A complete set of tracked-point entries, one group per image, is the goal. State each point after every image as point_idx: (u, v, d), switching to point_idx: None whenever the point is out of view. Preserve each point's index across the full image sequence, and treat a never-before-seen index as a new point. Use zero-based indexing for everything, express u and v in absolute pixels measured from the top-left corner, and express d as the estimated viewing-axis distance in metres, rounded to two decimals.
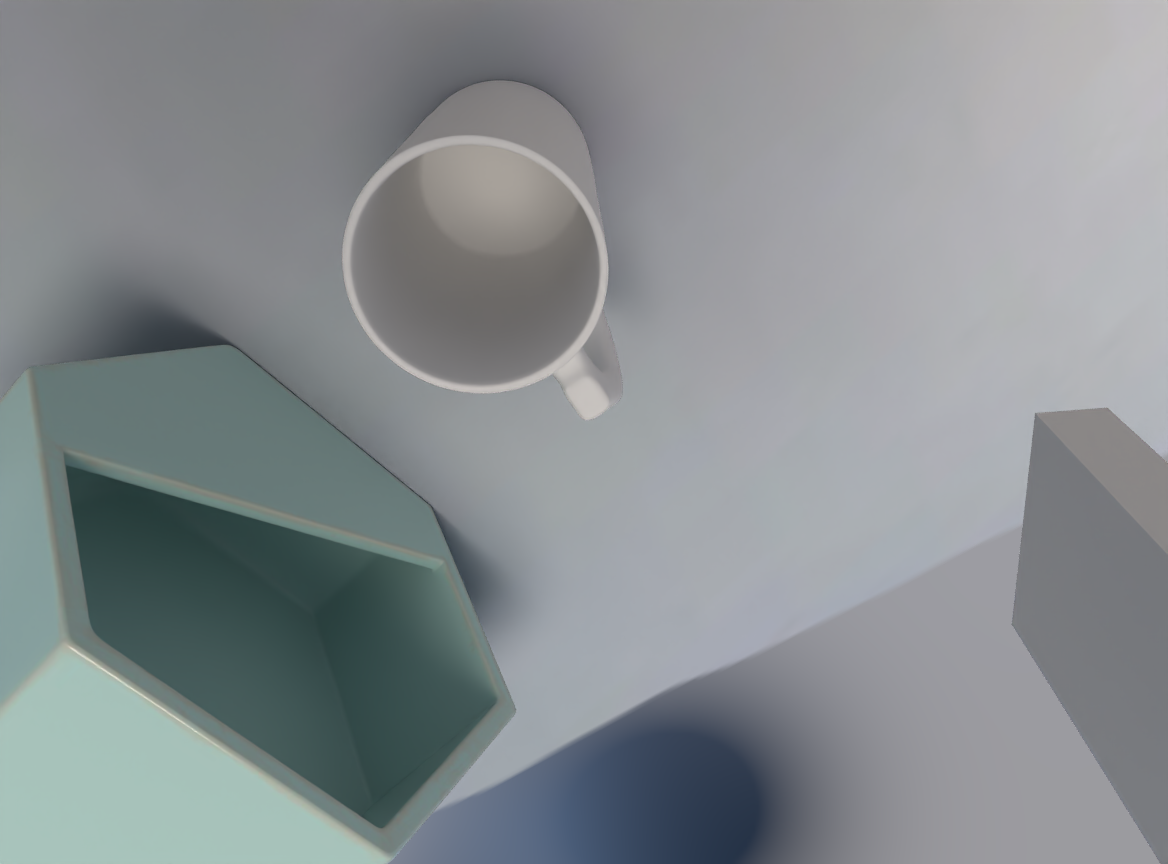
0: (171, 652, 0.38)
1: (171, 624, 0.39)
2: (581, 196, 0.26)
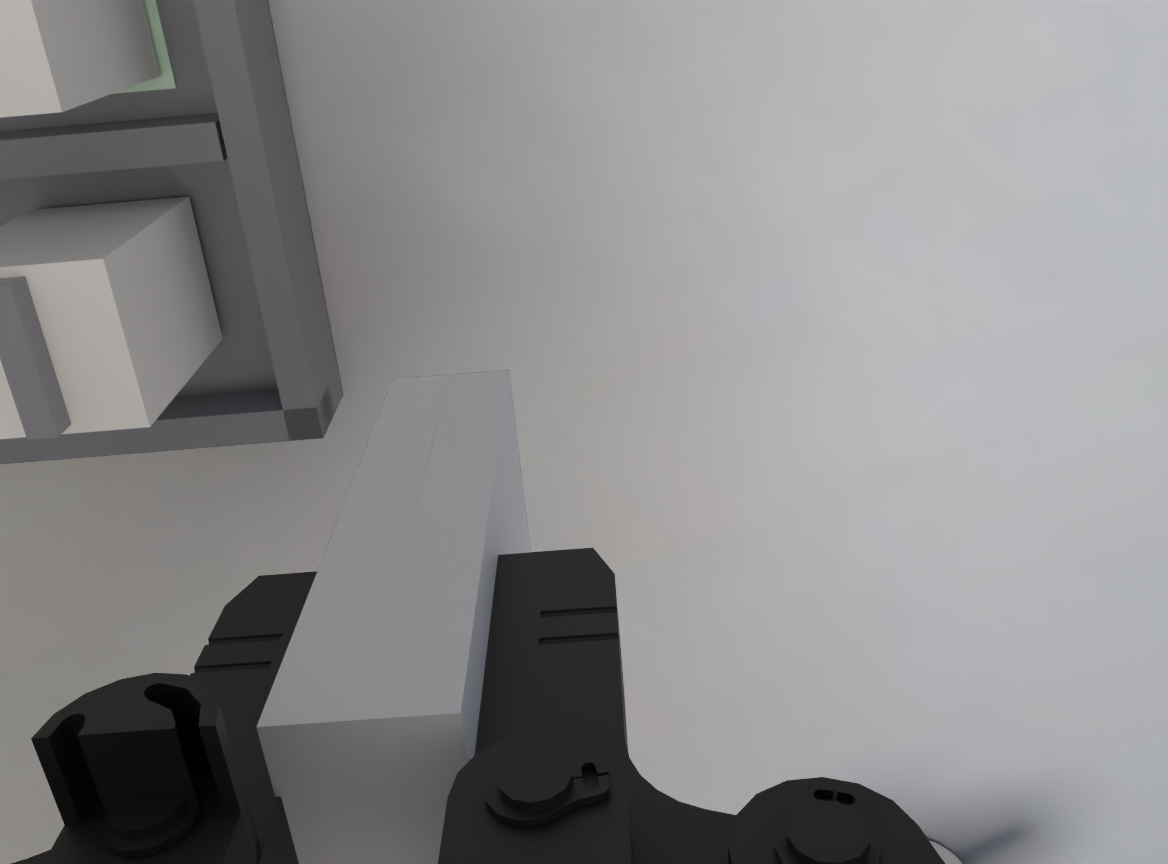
0: None
1: None
2: None
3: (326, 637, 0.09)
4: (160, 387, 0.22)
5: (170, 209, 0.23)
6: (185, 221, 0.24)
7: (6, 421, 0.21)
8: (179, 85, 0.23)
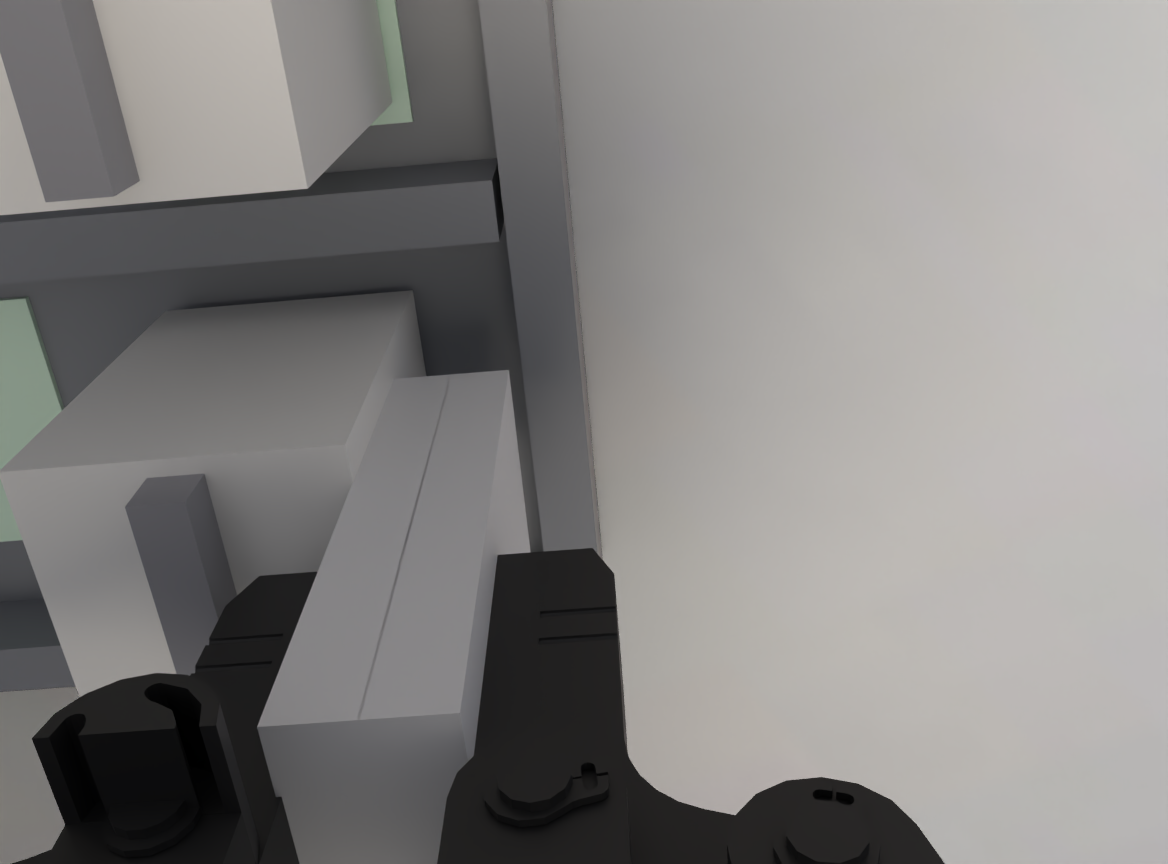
0: None
1: None
2: None
3: (326, 637, 0.09)
4: None
5: (398, 318, 0.14)
6: (411, 331, 0.15)
7: None
8: (417, 116, 0.15)
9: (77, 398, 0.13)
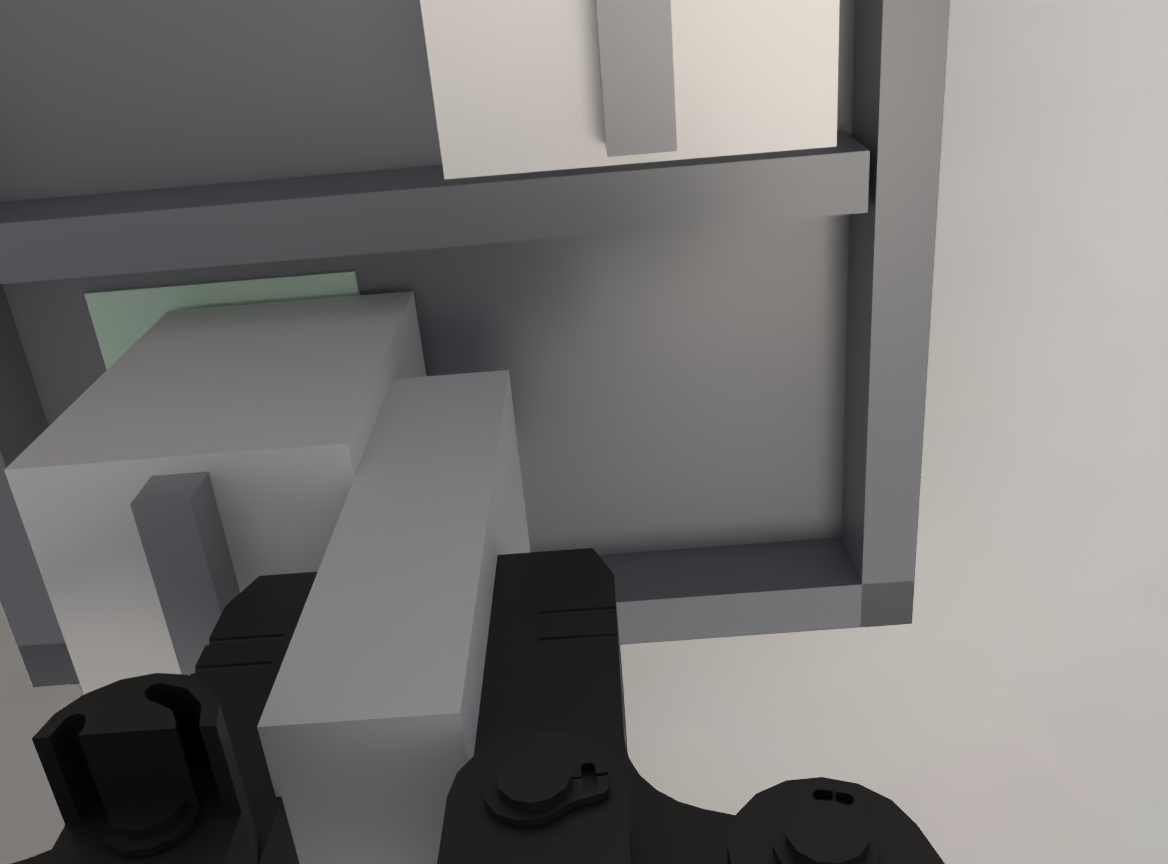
0: None
1: None
2: None
3: (326, 637, 0.09)
4: None
5: (400, 318, 0.14)
6: (412, 332, 0.15)
7: None
8: None
9: (81, 397, 0.13)
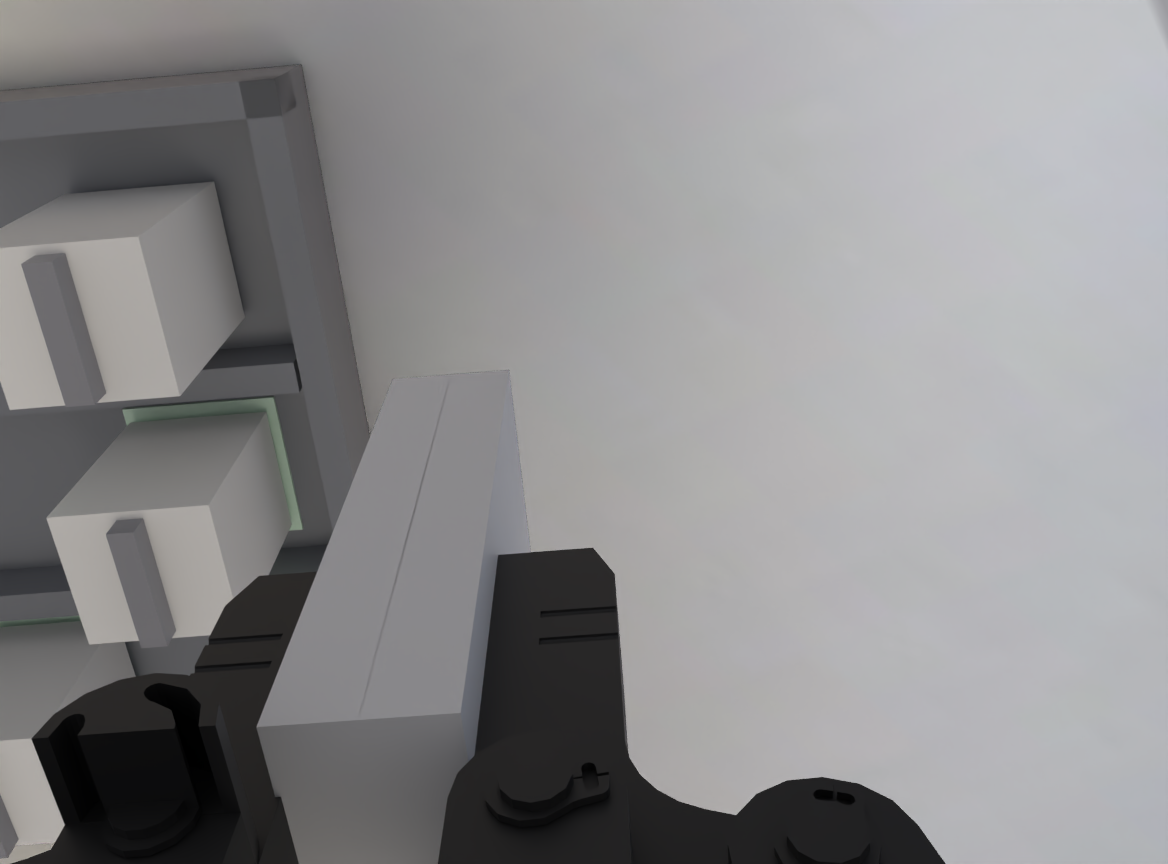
0: None
1: None
2: None
3: (325, 637, 0.09)
4: None
5: None
6: None
7: None
8: (305, 525, 0.30)
9: None
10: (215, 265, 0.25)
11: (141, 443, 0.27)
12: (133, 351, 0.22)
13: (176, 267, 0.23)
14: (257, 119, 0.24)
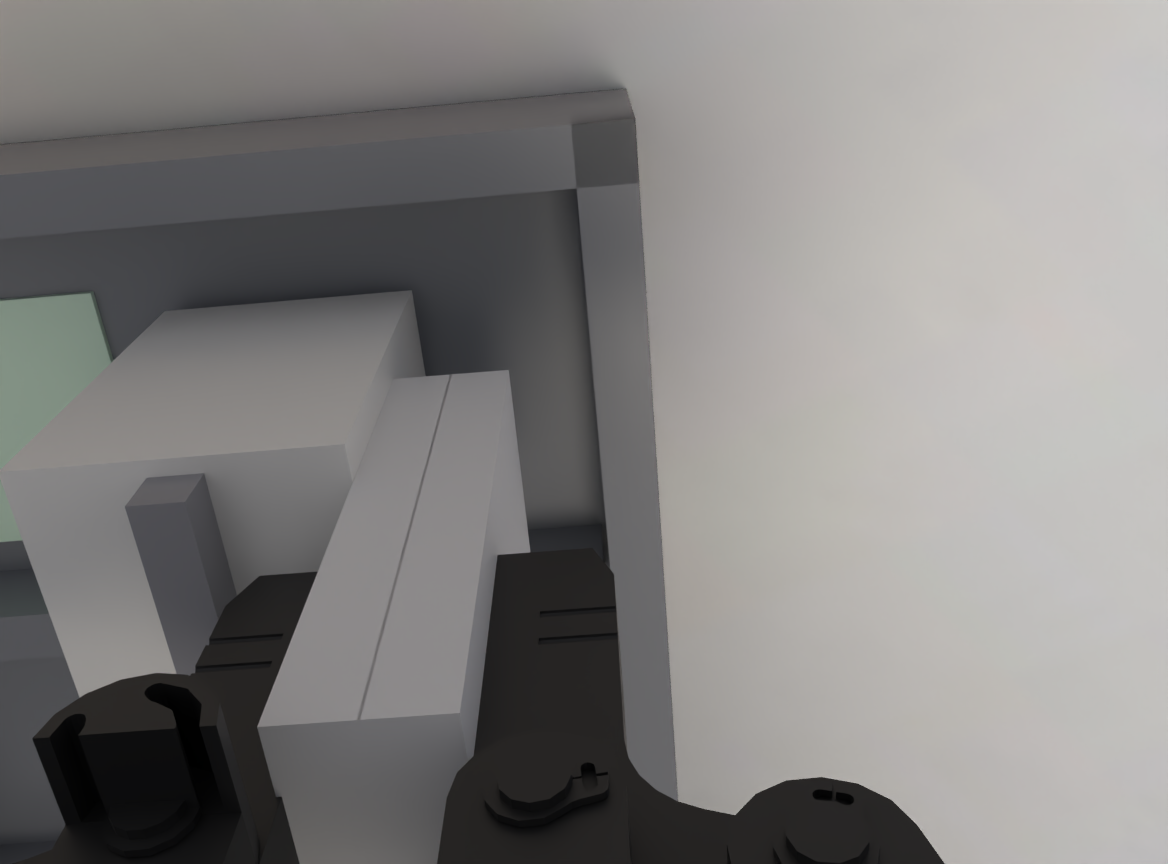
0: None
1: None
2: None
3: (326, 637, 0.09)
4: None
5: None
6: None
7: None
8: None
9: None
10: None
11: None
12: None
13: None
14: (595, 189, 0.14)
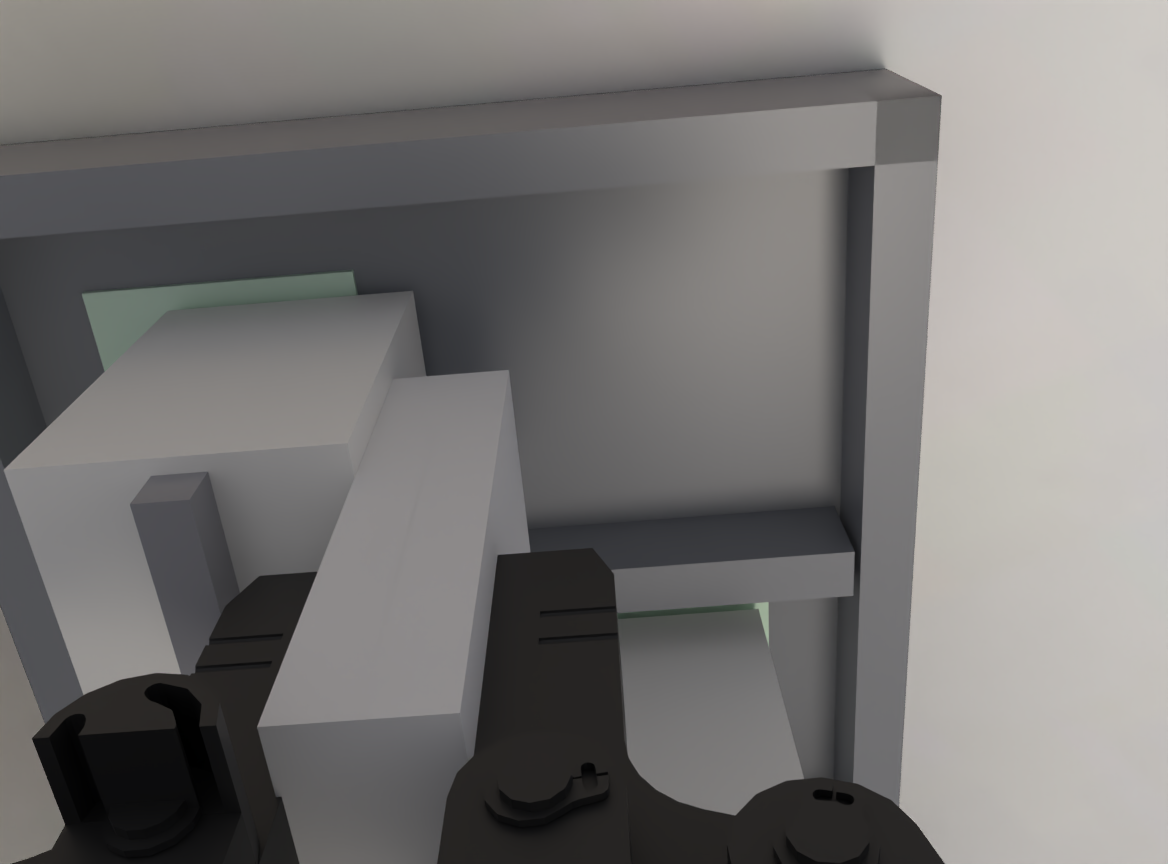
0: None
1: None
2: None
3: (326, 637, 0.09)
4: None
5: None
6: None
7: None
8: None
9: None
10: None
11: None
12: None
13: None
14: (894, 166, 0.14)
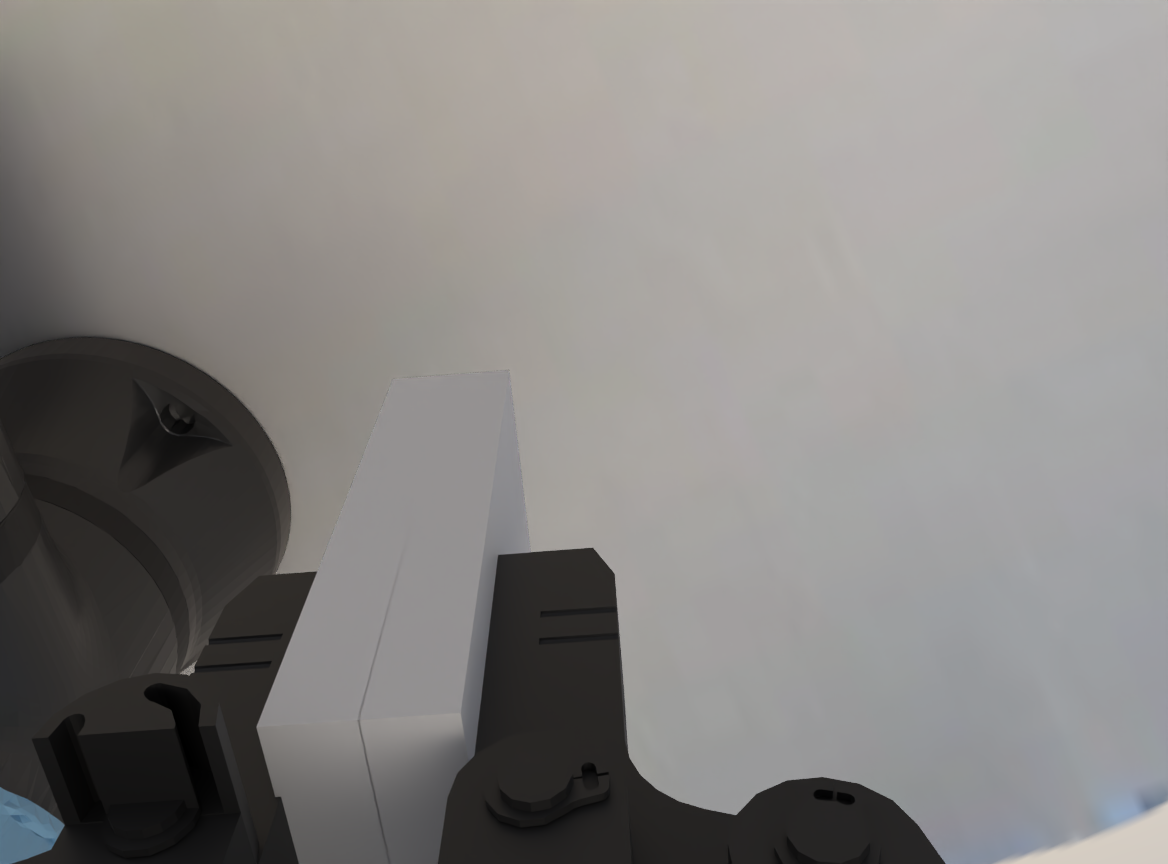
0: None
1: None
2: None
3: (326, 637, 0.09)
4: None
5: None
6: None
7: None
8: None
9: None
10: None
11: None
12: None
13: None
14: None
